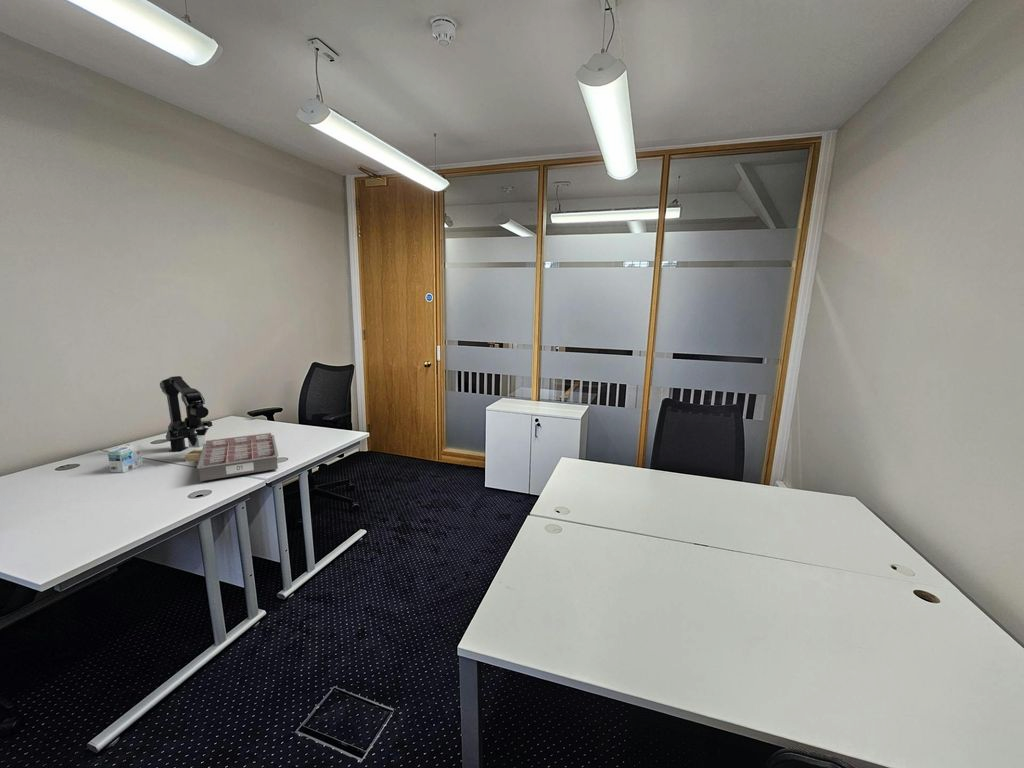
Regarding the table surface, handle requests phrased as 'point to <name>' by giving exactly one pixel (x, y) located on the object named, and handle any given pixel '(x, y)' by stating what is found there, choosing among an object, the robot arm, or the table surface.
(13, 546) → the table surface
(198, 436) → the stone cube
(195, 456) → the oak block
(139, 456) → the light bulb box
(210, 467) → the organizer tray
